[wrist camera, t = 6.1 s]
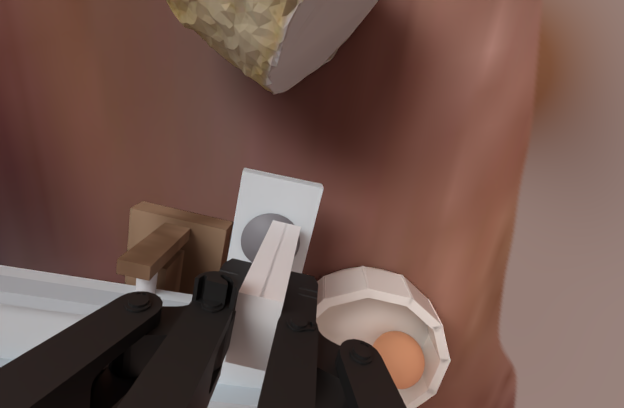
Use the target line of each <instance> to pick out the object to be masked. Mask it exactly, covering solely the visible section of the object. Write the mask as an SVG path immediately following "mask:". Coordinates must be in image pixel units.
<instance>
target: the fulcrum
mask: <svg viewBox="0 0 624 408" xmlns="http://www.w3.org/2000/svg"><path fill="white" fill-rule="evenodd" d="M232 224H233V222H231V221H227V220H222V219H218V218H214V217H209V216H205V215H201V214H196V213H192V212H188V211H183V210H179V209H175V208H170V207H166V206H162V205H157V204H153V203H149V202H144V201H142V202H141V203H139V204H137V205H135V206H133V207H132V208H130V218H129V232H128V246H127V252H126V253H124V254H123V255H122V256H120V257H119V258H118V259H117V269H116V274H120V275H124V276H125V284H127V285H133V286H136V278H138V279H142V280H147V281H150V280H151V279H152V278H153V276H154V275H155V274H156V273H157V272H158V275H157V285H156V289H159V290H166V291H172V292H179V293H185V294H192V295H193V289H194V282H195V277H197V276H198V275H199V274H201V273H204V272H209V271H220V268H221V267H222V265H223V264H224V263H225V262H226V258H227V253H228V247H229V241H230V235H231V230H232Z"/></svg>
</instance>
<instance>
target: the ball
mask: <svg viewBox="0 0 624 408" xmlns="http://www.w3.org/2000/svg"><path fill="white" fill-rule="evenodd" d="M373 347H374V348H375V349H377V351H378V352H379V354H380V355H381V357H382V359H383V361H384V363H385V365H386V367H387V369H388V371H389V373H390V375H391V377H392V379H393V381H394V383H395V385H396V387H397V389H406V388H409V387H411V386H413V385H415V384H416V383H417V382H418V381H419V380H420V378H421V376H422V374H423V372H424V367H425V359H424V354H423V351H422V349H421V347H420V345H419V344H418V343H417V341H416V340H415V339H414V338H412V337H411V336H410V335H408V334H406V333H404V332H400V331H390V332H386V333H384V334H382V335H381V336H379V337H378V338H377V339H376V341H375V342H374V344H373Z"/></svg>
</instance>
